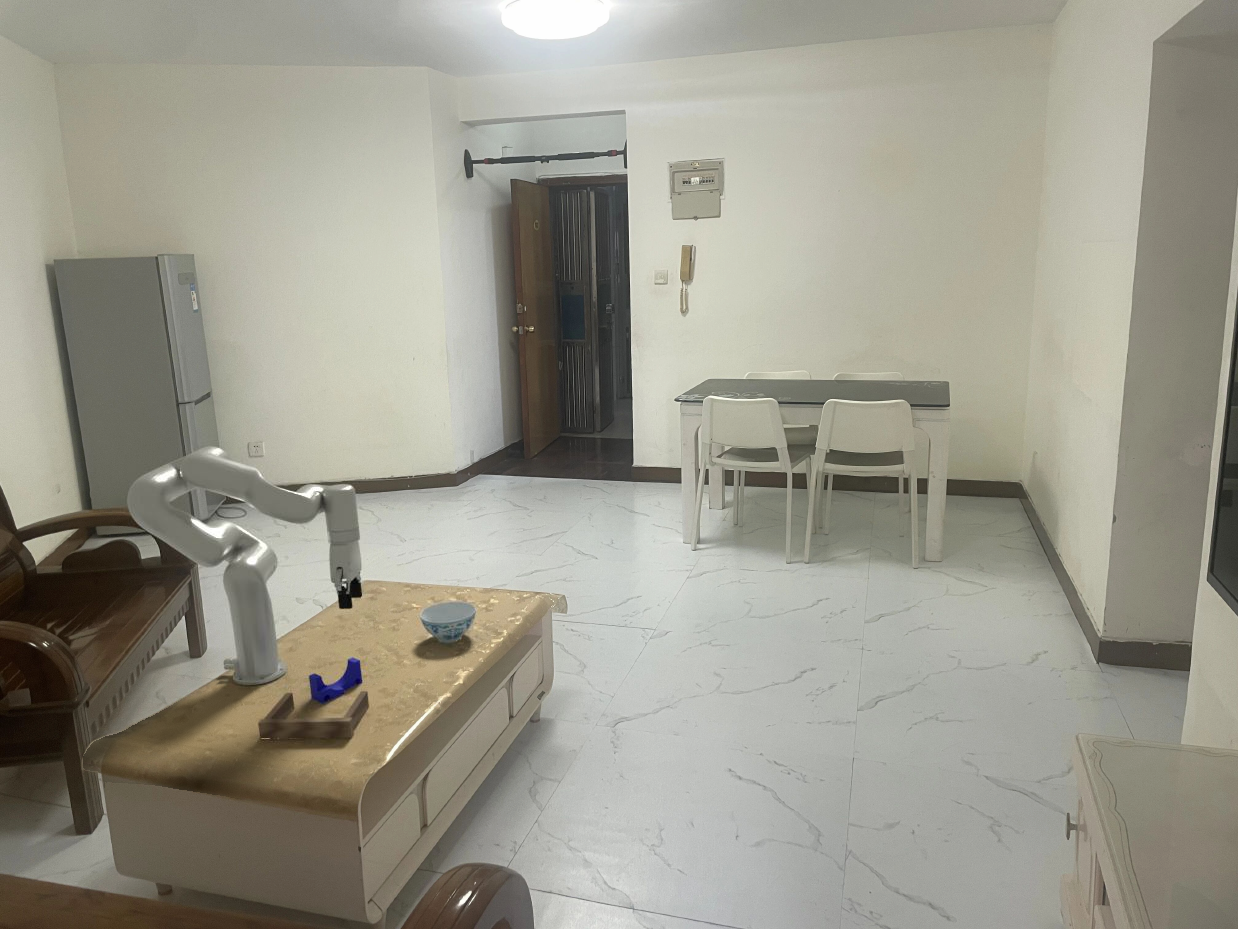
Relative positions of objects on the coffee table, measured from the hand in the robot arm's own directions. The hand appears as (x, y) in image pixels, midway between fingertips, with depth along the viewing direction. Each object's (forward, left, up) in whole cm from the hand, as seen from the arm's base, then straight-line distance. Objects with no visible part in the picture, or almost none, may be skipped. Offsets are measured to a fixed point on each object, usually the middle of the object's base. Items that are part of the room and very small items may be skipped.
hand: (350, 602), depth 213 cm
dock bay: (0, -27, -18) cm, 32 cm away
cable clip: (0, -13, -18) cm, 22 cm away
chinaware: (+20, +17, -18) cm, 32 cm away
